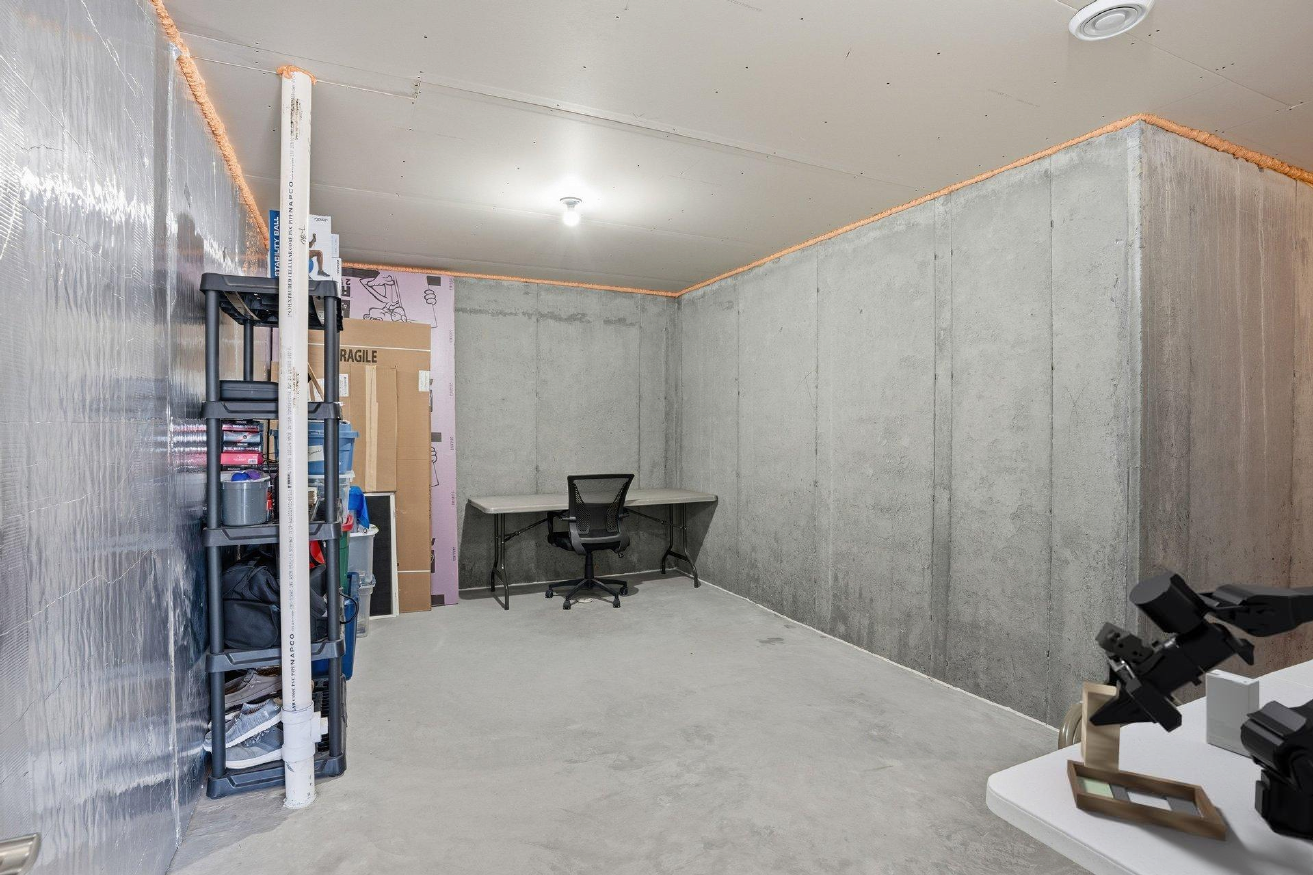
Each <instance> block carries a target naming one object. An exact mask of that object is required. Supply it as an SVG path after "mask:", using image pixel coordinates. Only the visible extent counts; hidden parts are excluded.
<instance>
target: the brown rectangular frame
mask: <svg viewBox="0 0 1313 875" xmlns="http://www.w3.org/2000/svg"><path fill="white" fill-rule="evenodd" d="M1066 762H1067V763H1066V772H1067V773H1066V774H1067V776H1068V781H1069V784H1070V788H1071V792H1072V794H1073V795H1072V796H1073V798H1074V802H1075V808H1078V809H1082V810H1086V811H1087V810H1088V811H1091V812H1094V813H1100V814H1104V815H1108V816H1113V817H1117V818H1122V819H1127V820H1131V821H1135V822H1139V823H1144V824H1147V825H1148V824H1149V825H1152V826H1156V827H1163V828H1167V829H1170V830H1176V831H1179V832H1183V833H1187V834H1192V835H1197V836H1201V837H1206V838H1211V839H1215V840H1219V841H1223V842H1226V840H1227V825H1226V824H1225V822H1224V820H1223V819H1222V817H1221V816H1220V814H1219V812H1218V810H1217V809H1216V807H1215V806H1214V804H1213V803H1212V802H1211V800H1210V798H1209V796H1208V794H1207V793H1206V792H1205V790H1204V788H1203V787H1202V786H1201V785H1199V784H1192V783H1187V782H1183V781H1177V780H1172V779H1168V778H1163V777H1157V776H1154V775H1153V776H1152V775H1147V774H1143V773H1138V772H1133V771H1127V770H1122V769H1119V770H1118V773H1113V772H1108V771H1103V770H1098V769H1094V768H1089V767H1085V765H1084V762H1083V761H1077V760H1072V759H1067V761H1066ZM1077 776H1080V777H1085V778H1089V779H1094V780H1099V781H1104V782H1108V784H1109V785H1110V783H1113V784H1118V785H1123V786H1124V788H1128V789H1133V790H1138V791H1143V792H1147V793H1152V794H1157V795H1162V796H1165V794H1166V795H1171V796H1176V797H1181V798H1185V799H1190V800H1192V802H1193V803H1194V805H1195V807H1197V810H1198V812H1199V813H1200V815H1201V817H1199V816H1194V815H1190V814H1185V813H1180V812H1176V811H1172V810H1171V809H1165V808H1162V807H1157V806H1152V805H1148V804H1143V803H1138V802H1133V801H1130V800H1129V801H1125V800H1120V799H1116V798H1115V797H1114V798H1111V797H1106V796H1102V795H1097V794H1092V793H1088V792H1083V791H1081V789H1080V786H1079V783H1078V779H1077Z"/></svg>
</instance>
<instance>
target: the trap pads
mask: <svg viewBox="0 0 1313 875" xmlns="http://www.w3.org/2000/svg"><path fill="white" fill-rule="evenodd" d="M1109 786H1110V789H1111V792H1112V794H1113V797H1114V798H1116V799H1120V800H1125V801H1130V798H1129V797H1128V794H1127V792H1126V789H1125V787H1124V786H1123V785H1118V784H1113V783H1110V784H1109ZM1164 797H1165V800H1166V802H1167V804H1168V806H1169V808H1170V810H1171V811H1176V812H1180V813H1185V814H1190V815H1194V816H1199V817H1202V815H1201V813H1200V811H1199V810H1198V808H1196V807H1197V806H1196V804H1195V803H1194V801H1192V800H1190V799H1185V798H1181V797H1176V796H1171V795H1166V794H1165V795H1164Z"/></svg>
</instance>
